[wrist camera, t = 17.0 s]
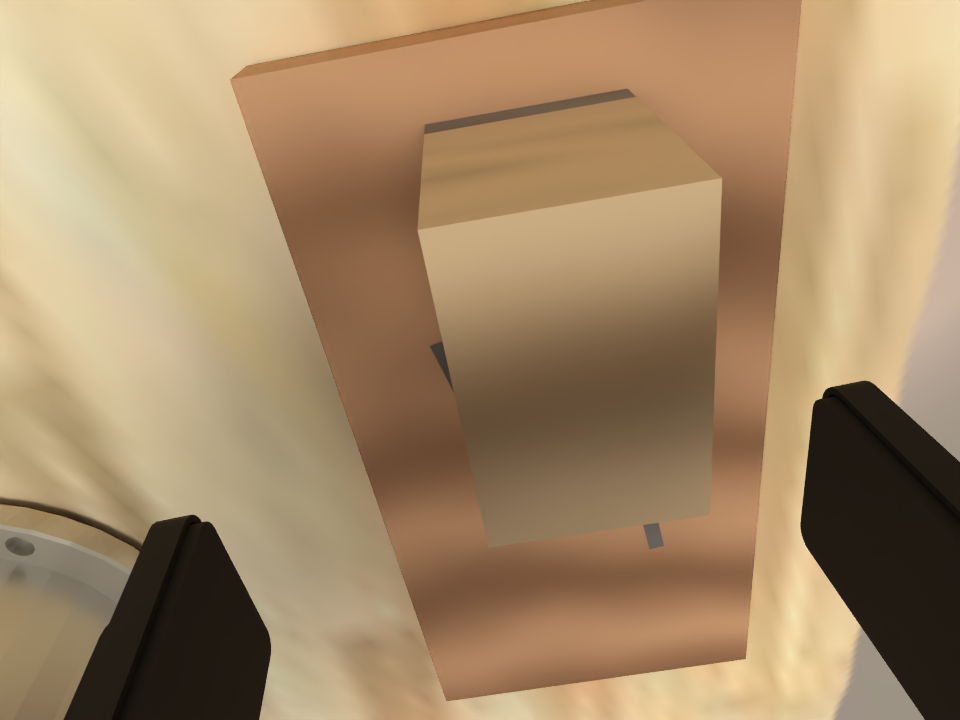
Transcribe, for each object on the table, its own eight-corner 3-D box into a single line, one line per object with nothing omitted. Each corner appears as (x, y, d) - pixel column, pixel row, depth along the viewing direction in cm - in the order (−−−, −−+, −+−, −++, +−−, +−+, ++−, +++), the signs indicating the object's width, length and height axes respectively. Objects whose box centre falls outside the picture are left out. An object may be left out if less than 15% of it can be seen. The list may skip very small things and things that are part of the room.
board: (732, 625, 28) (745, 659, 27) (446, 666, 29) (446, 701, 28) (773, -35, 15) (804, -30, 14) (246, 66, 16) (229, 79, 14)
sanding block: (638, 353, 19) (710, 515, 14) (475, 379, 19) (488, 547, 14) (627, 88, 15) (722, 177, 10) (424, 124, 15) (417, 230, 10)
